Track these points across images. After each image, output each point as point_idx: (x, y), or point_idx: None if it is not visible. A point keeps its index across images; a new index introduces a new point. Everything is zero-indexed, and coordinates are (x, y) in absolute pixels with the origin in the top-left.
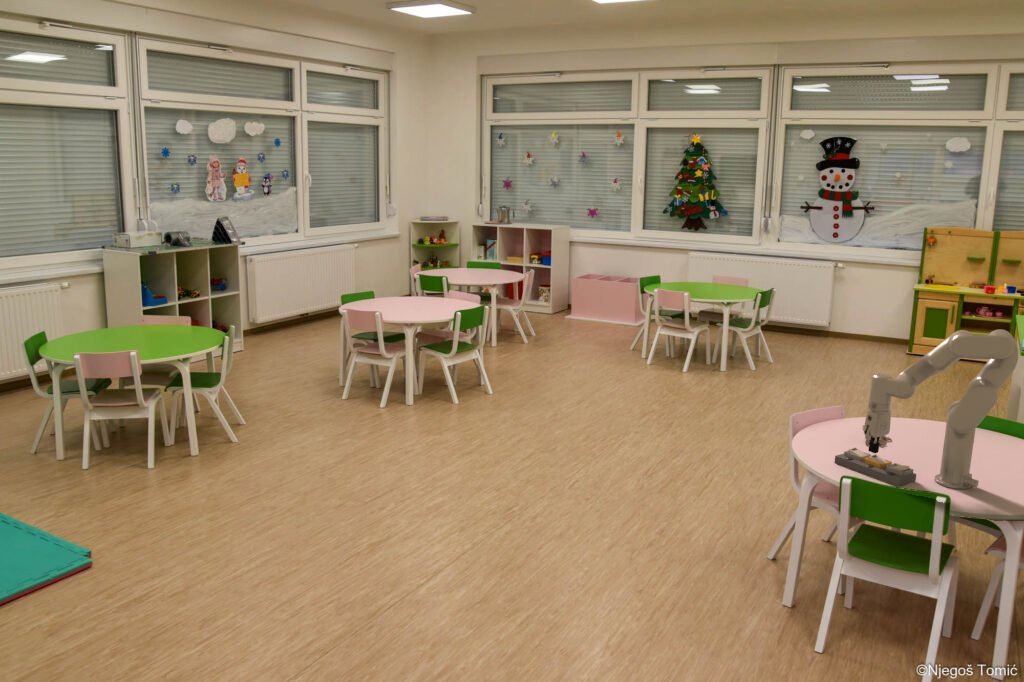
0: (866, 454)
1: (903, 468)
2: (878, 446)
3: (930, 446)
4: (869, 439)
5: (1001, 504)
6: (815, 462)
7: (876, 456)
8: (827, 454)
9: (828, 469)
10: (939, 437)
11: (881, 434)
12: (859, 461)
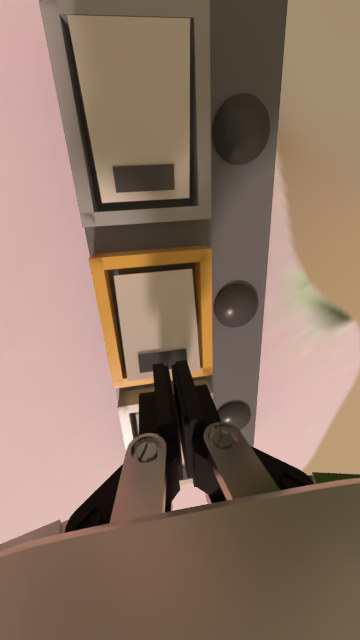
0: (138, 417)
1: (176, 20)
2: (165, 397)
3: None
4: (341, 477)
5: None
6: (292, 452)
7: (148, 354)
8: (184, 495)
9: (319, 391)
10: None
11: (247, 543)
12: (219, 376)
